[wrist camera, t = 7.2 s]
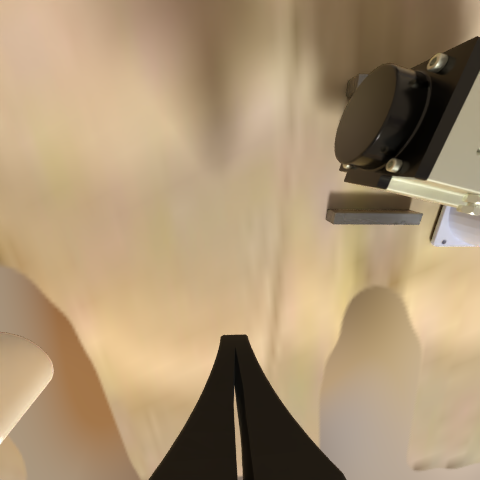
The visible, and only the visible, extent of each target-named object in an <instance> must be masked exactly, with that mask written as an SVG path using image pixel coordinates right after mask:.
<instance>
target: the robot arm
mask: <svg viewBox="0 0 480 480" xmlns="http://www.w3.org/2000/svg"><path fill="white" fill-rule="evenodd" d="M431 244H432V245H434V246H437V247H448V246H478V247H480V215H479V216H476V215H471V214H467V213H463V212H458V211H457V208H454V207H450V206H446V205H443V208H442V211H441V214H440V217H439V220H438V223H437V225H436V228H435V231H434V234H433V237H432V240H431ZM234 386H235V394H236V402H237V411H238V419H239V427H240V435H241V447H242V467H243V480H346V478H345V476H344V474H343V473H342V472H341V471H340V470H339V469H338V468H337V467H336V466H335V465H334V464H333V463H332V462H331V461H330V460H329V459H328V457H326V455H325V454H324V453H323V452H322V451H321V450H320V449H319V448H318V447H317V446H316V444H315V443H314V442H313V441H312V440H311V439H310V438H309V436H308V435H307V434H306V433H305V432H304V430H303V429H302V428H301V427H300V425H299V424H298V423H297V422H296V420H295V419H294V418H293V417H292V415H291V414H290V413H289V411H288V410H287V409H286V407H285V406H284V404H283V403H282V402H281V400H280V399H279V397H278V396H277V394H276V393H275V391H274V389H273V388H272V386H271V385H270V383H269V381H268V380H267V378H266V376H265V374H264V373H263V371H262V369H261V367H260V365H259V363H258V361H257V359H256V357H255V355H254V352H253V350H252V348H251V345H250V343H249V340H248V336H247V335H223V336H221V340H220V346H219V350H218V353H217V357H216V360H215V362H214V365H213V368H212V371H211V373H210V376H209V378H208V380H207V383H206V385H205V387H204V390H203V392H202V394H201V396H200V398H199V400H198V402H197V404H196V406H195V408H194V410H193V412H192V413H191V415H190V417H189V419H188V421H187V422H186V424H185V426H184V427H183V429H182V431H181V432H180V434H179V436H178V437H177V439H176V440H175V442H174V443H173V445H172V447H171V448H170V450H169V451H168V453H167V454H166V456H165V457H164V459H163V460H162V462H161V463H160V464H159V466H158V467H157V469H156V470H155V471H154V473H153V474H152V476H151V477H150V478H149V480H237V463H236V445H235V425H234V405H233V404H234Z"/></svg>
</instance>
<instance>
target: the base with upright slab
mask: <svg viewBox="0 0 480 480" xmlns="http://www.w3.org/2000/svg"><path fill="white" fill-rule="evenodd" d="M53 371H54V370H53V364H52V362H51V360H50V358H49V356H48V355H47V354H46V352H45V351H44V350H43V349H42V348H41V347H39V346H38V345H36V344H34V343H33V342H32V341H30V340H28V339H26V338H23V337H21V336H18V335H14V334H10V333H4V332H0V444H1V443H2V441H3V440H4V439H5V438H6V436H7V435H8V434H9V432H10V431H11V430H12V428H13V427H14V426H15V425H16V424H17V422H18V421H19V420H20V419H21V417H22V416H23V415H24V414H25V412H26V411H27V410H28V408H29V407H30V406H31V405H32V403H33V402H34V401H35V400H36V398H37V397H38V396H39V394H40V393H41V392H42V390H43V389H44V388H45V387H46V385H47V384H48V383H49V382H50V380H51V379H52V376H53Z"/></svg>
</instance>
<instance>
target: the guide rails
mask: <svg viewBox="0 0 480 480" xmlns="http://www.w3.org/2000/svg"><path fill="white" fill-rule="evenodd" d="M368 75H369V74H359V75H357V76H355V77H354V78H352V79H351V80H349V81H348V86H347V93H346V96H352V95H353V94H354V92H355V91H356V89H357V88H358V87H359V85H360V84H361V83H362V81H363V80H364V79H365V78H366V77H367V76H368ZM422 215H423V214H422V213H418V212H414V211H411V210H343V209H328V211H327V217H326V220H327V221H329V222H331V223H332V224H387V225H419V224H420V221H421V218H422Z"/></svg>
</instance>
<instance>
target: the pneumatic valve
mask: <svg viewBox="0 0 480 480" xmlns="http://www.w3.org/2000/svg"><path fill="white" fill-rule="evenodd" d="M335 155H336V158H337V160H338V161H339V162H340V163H341V166H340V169H339V171H343V172H347V174H346V177H345V180H344V182H348V183H352V184H357V185H361V186H365V187H369V188H374V189H378V190H382V191H386V192H391V193H395V194H399V195H403V196H408V197H412V198H416V199H420V200H425V201H429V202H433V203H437V204H442V205H446V206H450V207H454V208H457V211H458V212H463V213H467V214H471V215H476V216H479V215H480V37H478V36H477V37H475V38H473V39H471V40H468V41H466V42H464V43H462V44H460V45H458V46H456V47H454V48H452V49H450V50H448V51H446V52H444V53H437V54H436V55H434V56H433V57H432V58H431V59H430V60H428V61H426V62H424V63H422V64H419V65H417V66H415V67H413V68H411V69H408V68H405V67H402V66H399V65H396V64H392V63H387V64H383V65H381V66H379V67H377V68H376V69H375V70H373V71H372V72H371V73H370V74H369V75H368V76H367V77H366V78H365V79H364V80H363V81H362V83H361V84H360V85H359V87H358V88H357V89H356V91H355V92H354V94H353V95H352V97H351V99H350V101H349V102H348V104H347V106H346V108H345V110H344V113H343V115H342V117H341V120H340V123H339V126H338V129H337V133H336V138H335Z"/></svg>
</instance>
